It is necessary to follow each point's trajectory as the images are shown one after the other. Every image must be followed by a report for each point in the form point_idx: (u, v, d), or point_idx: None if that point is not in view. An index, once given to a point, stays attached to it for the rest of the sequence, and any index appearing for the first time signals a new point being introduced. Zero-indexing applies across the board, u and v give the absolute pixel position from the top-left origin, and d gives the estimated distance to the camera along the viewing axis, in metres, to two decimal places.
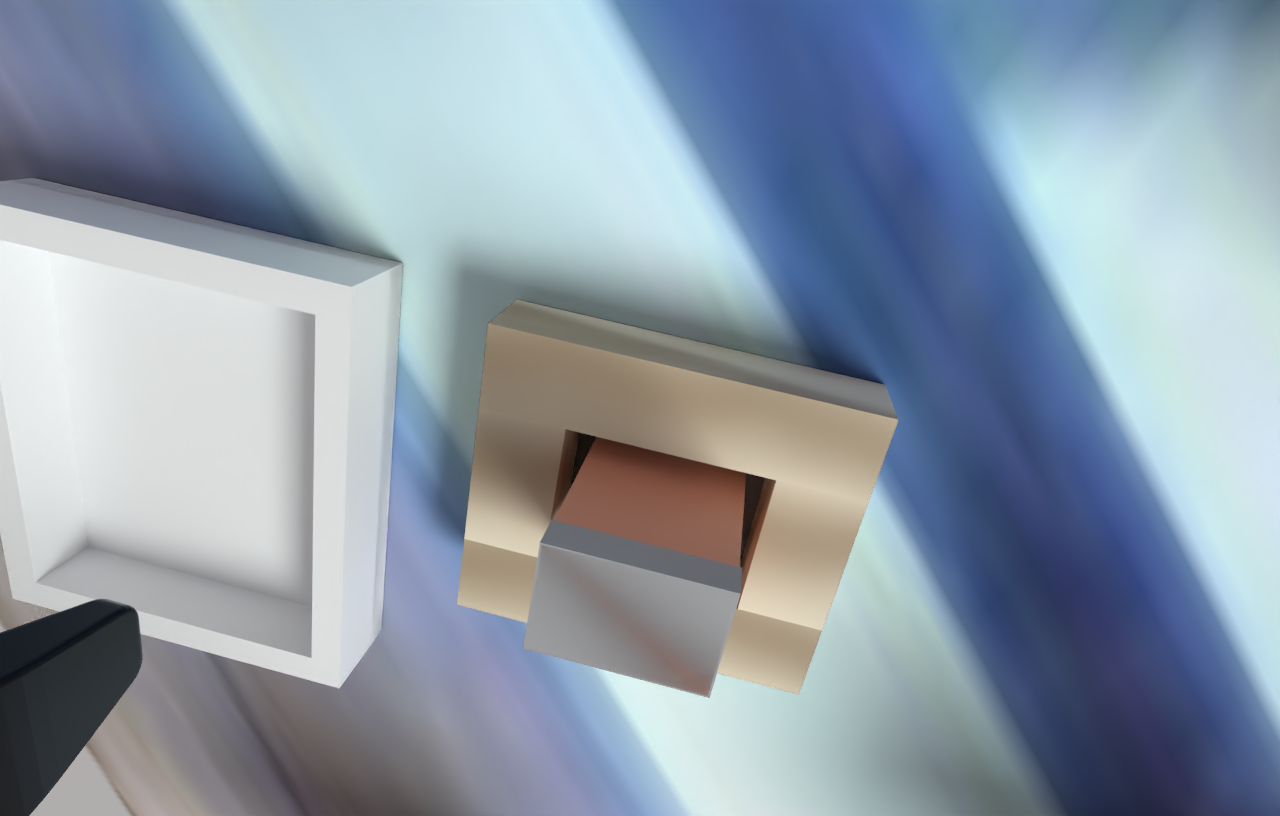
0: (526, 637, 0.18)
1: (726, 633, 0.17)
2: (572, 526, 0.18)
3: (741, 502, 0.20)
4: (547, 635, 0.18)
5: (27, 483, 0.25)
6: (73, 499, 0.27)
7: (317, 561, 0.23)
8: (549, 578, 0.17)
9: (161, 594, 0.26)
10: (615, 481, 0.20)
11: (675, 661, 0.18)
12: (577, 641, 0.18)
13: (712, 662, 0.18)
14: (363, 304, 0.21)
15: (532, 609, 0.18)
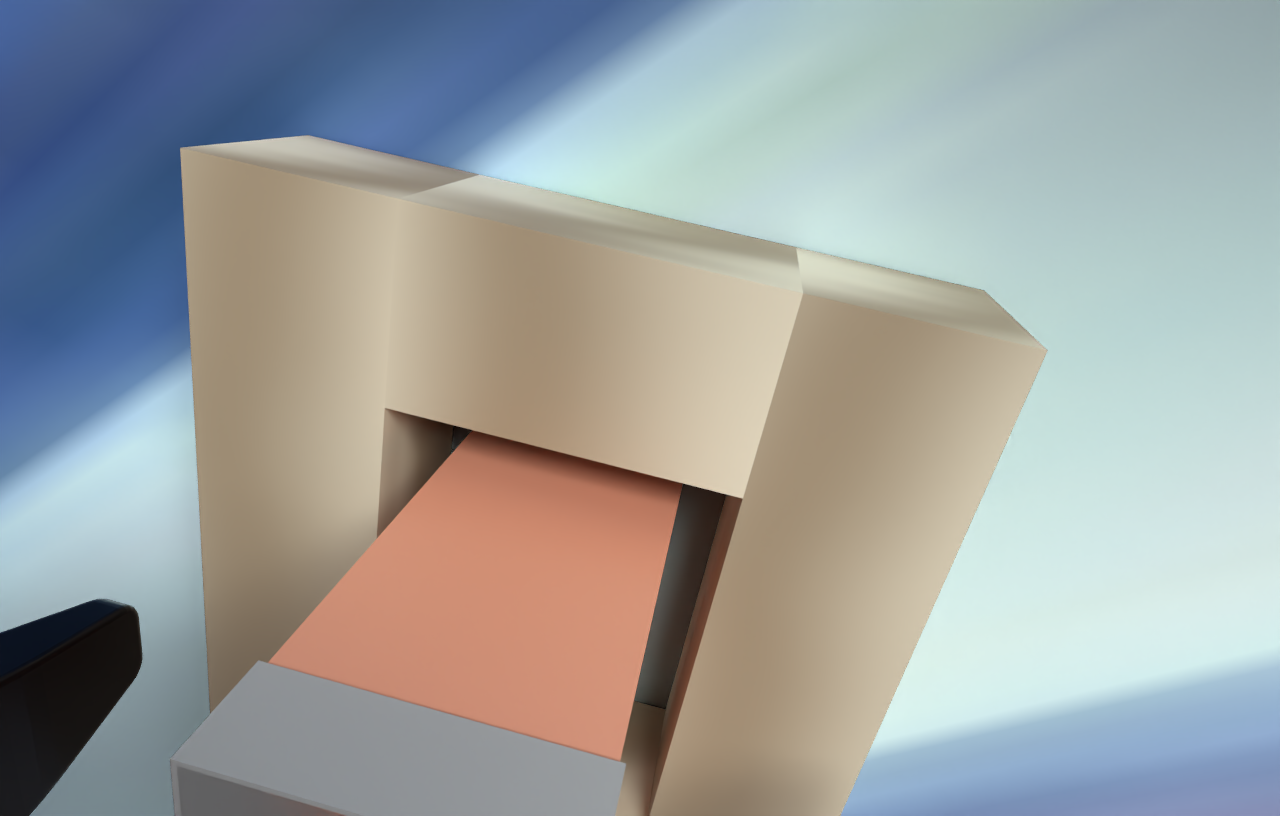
0: None
1: (328, 806, 0.05)
2: None
3: (421, 492, 0.09)
4: None
5: None
6: None
7: None
8: None
9: None
10: None
11: None
12: None
13: None
14: None
15: None
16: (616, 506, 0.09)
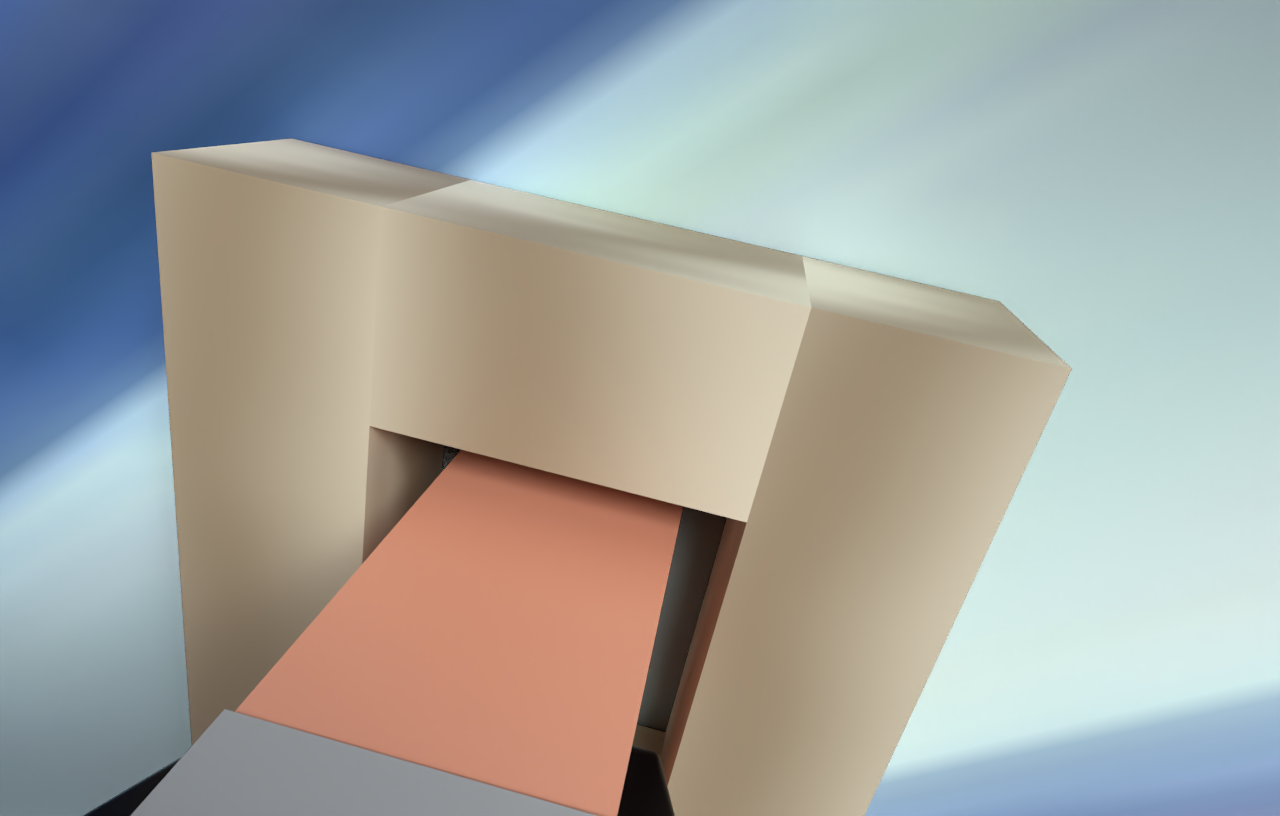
0: None
1: None
2: None
3: (408, 515, 0.09)
4: None
5: None
6: None
7: None
8: None
9: None
10: None
11: None
12: None
13: None
14: None
15: None
16: (613, 529, 0.09)
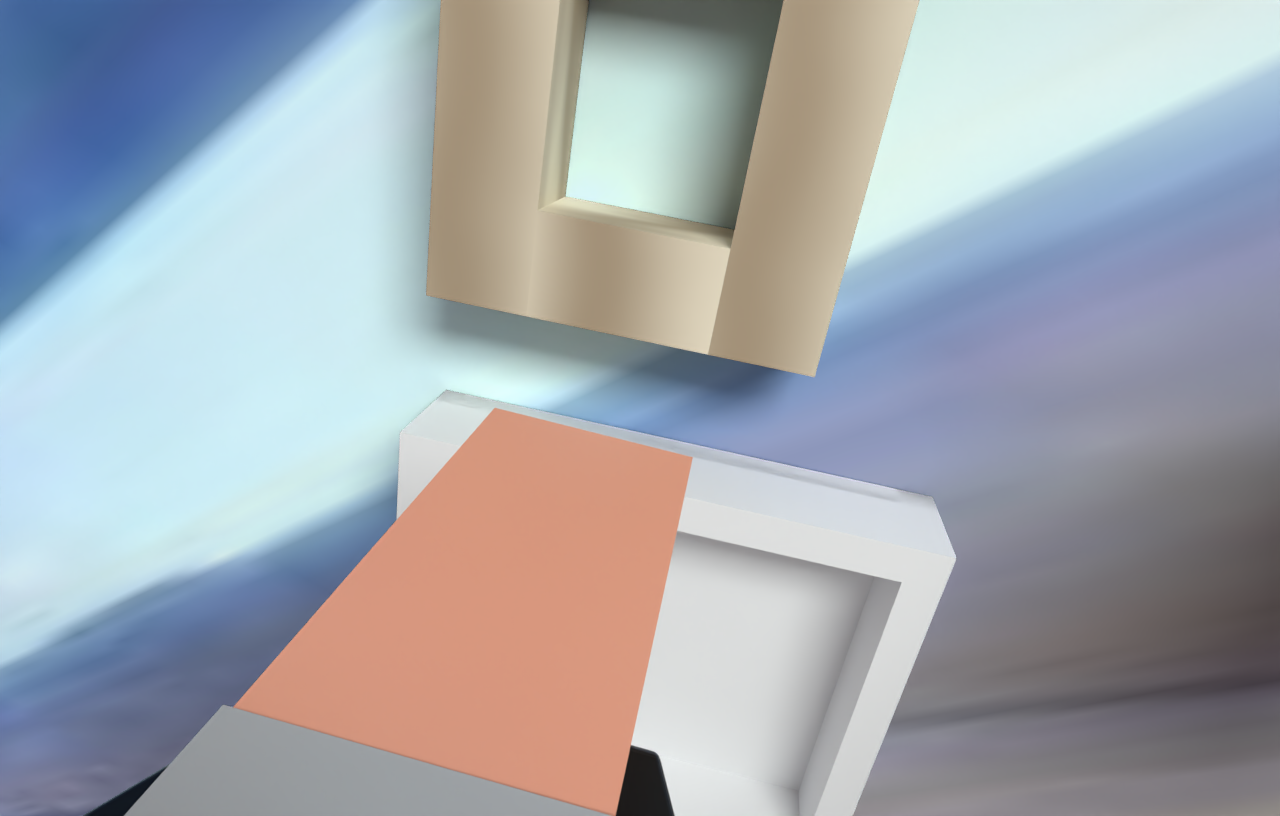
0: None
1: None
2: None
3: (407, 512, 0.09)
4: None
5: (678, 810, 0.23)
6: (729, 781, 0.25)
7: (743, 540, 0.19)
8: None
9: (833, 734, 0.22)
10: None
11: None
12: None
13: None
14: (435, 427, 0.20)
15: None
16: (613, 527, 0.09)
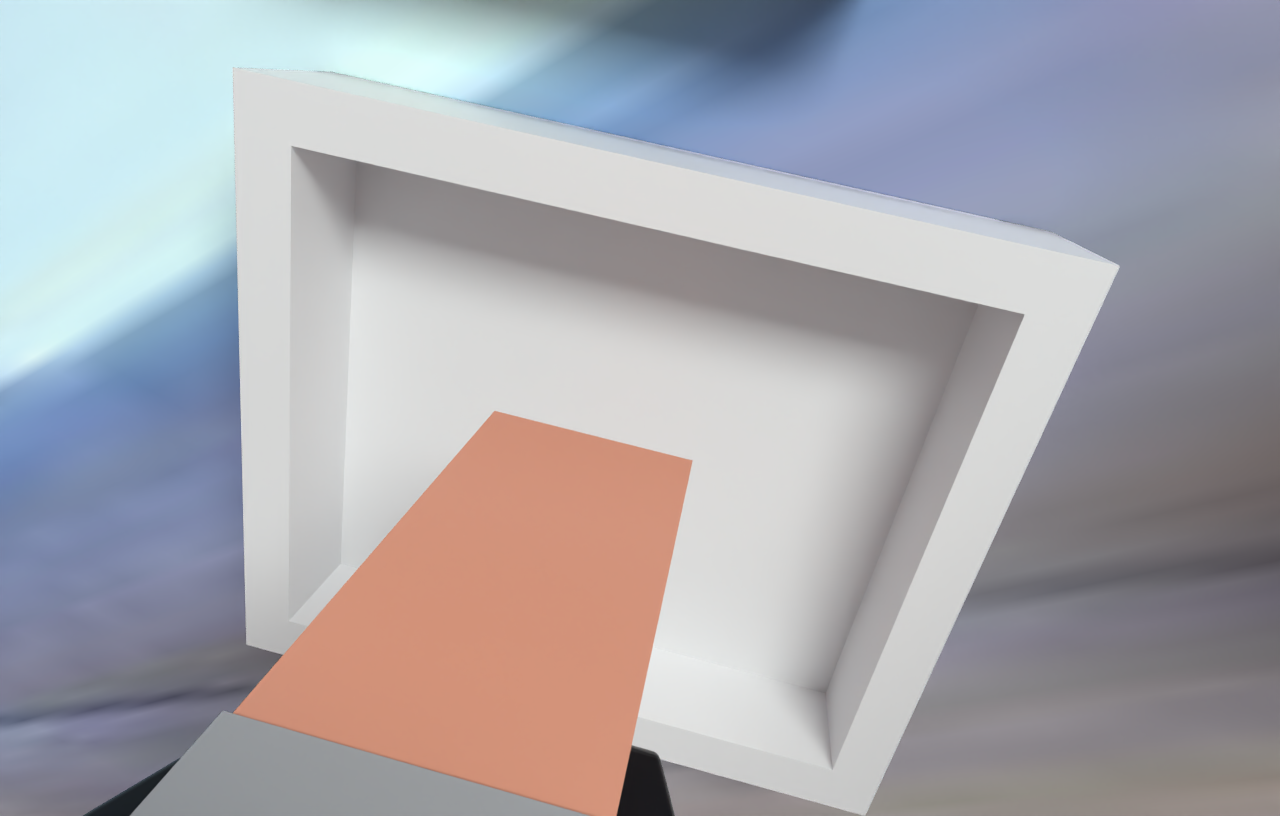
0: None
1: None
2: None
3: (407, 516, 0.09)
4: None
5: (657, 710, 0.16)
6: (730, 677, 0.18)
7: (774, 245, 0.12)
8: None
9: (887, 593, 0.15)
10: None
11: None
12: None
13: None
14: (294, 76, 0.13)
15: None
16: (613, 530, 0.09)
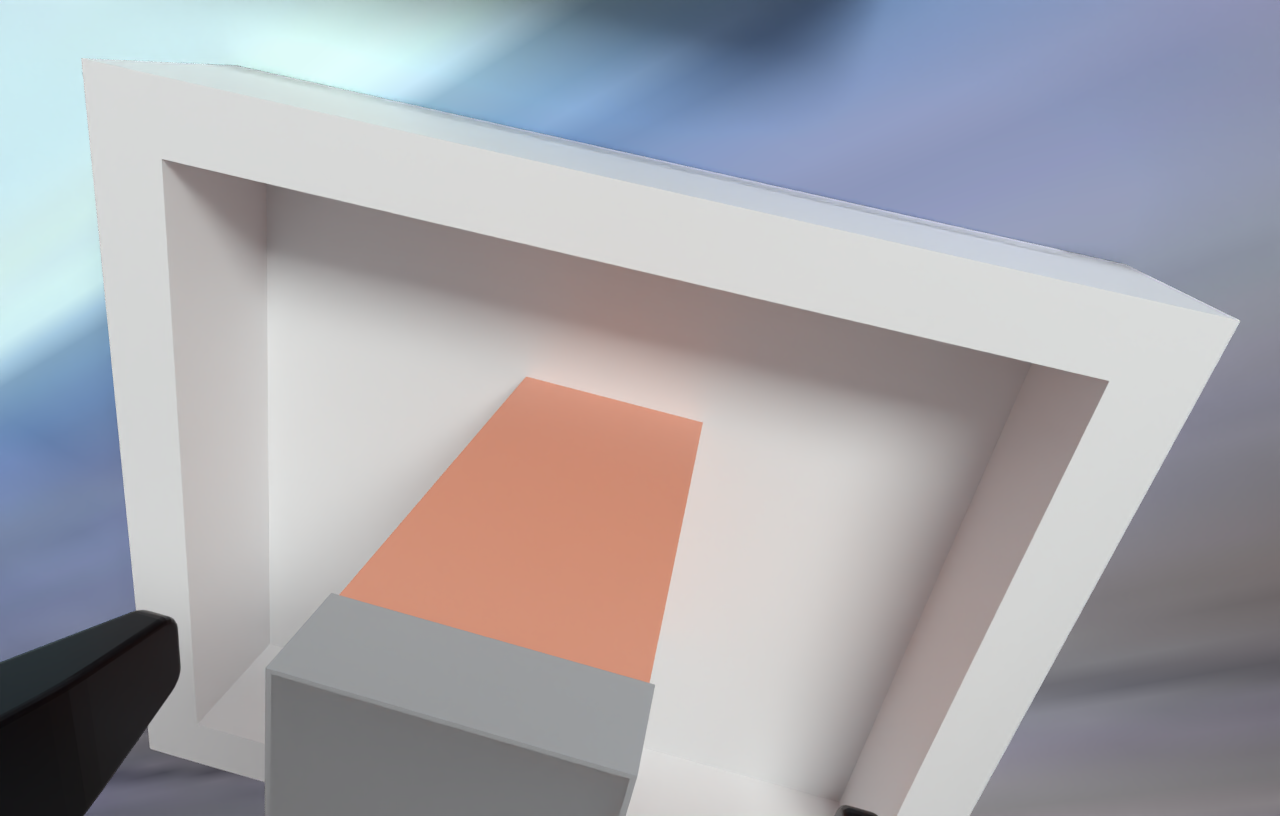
0: None
1: (402, 709, 0.06)
2: None
3: (459, 458, 0.10)
4: None
5: None
6: (726, 784, 0.15)
7: (781, 289, 0.09)
8: None
9: (918, 704, 0.12)
10: None
11: None
12: None
13: (505, 754, 0.06)
14: (169, 70, 0.10)
15: None
16: (635, 475, 0.10)
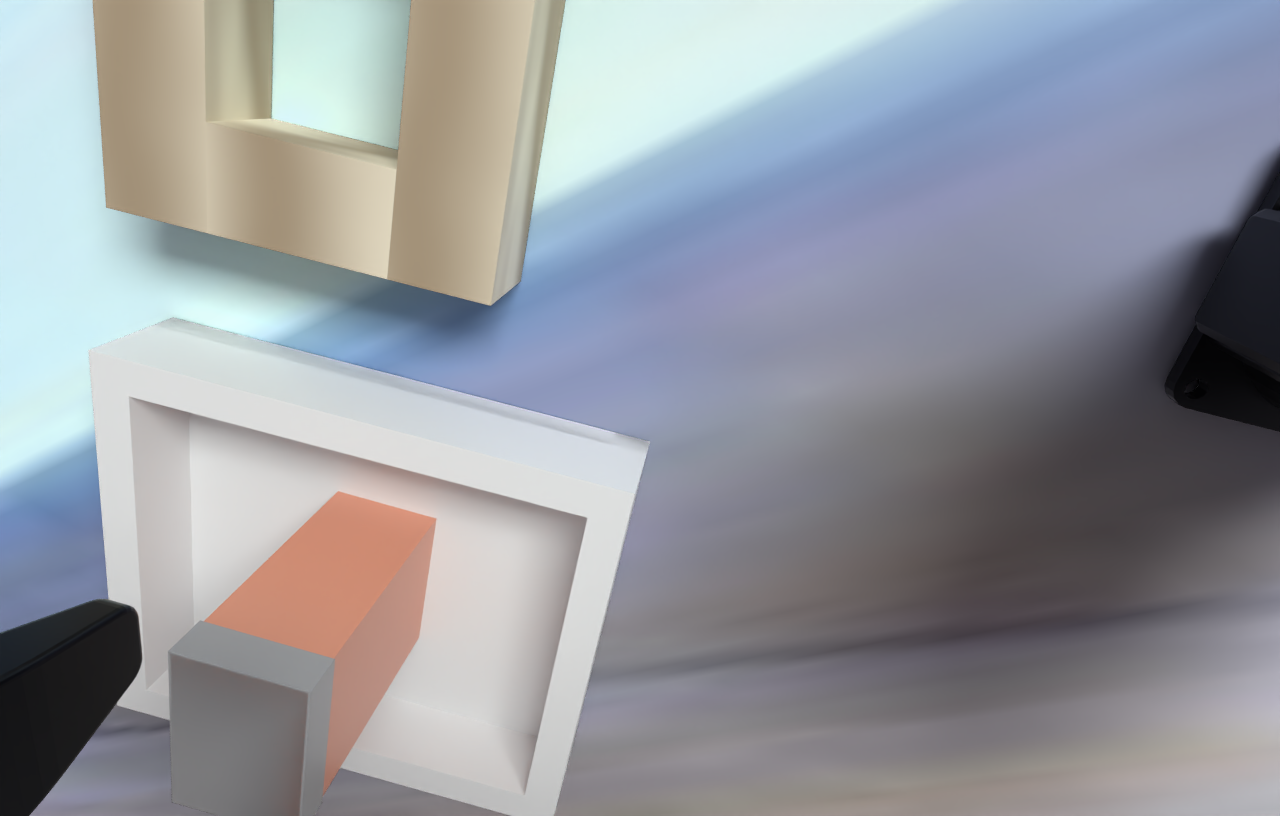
0: None
1: (221, 667, 0.16)
2: None
3: (281, 548, 0.19)
4: None
5: (408, 753, 0.23)
6: (473, 727, 0.25)
7: (434, 471, 0.19)
8: (208, 802, 0.17)
9: None
10: None
11: (271, 716, 0.16)
12: (276, 794, 0.17)
13: (261, 684, 0.16)
14: (133, 348, 0.19)
15: None
16: (376, 555, 0.20)
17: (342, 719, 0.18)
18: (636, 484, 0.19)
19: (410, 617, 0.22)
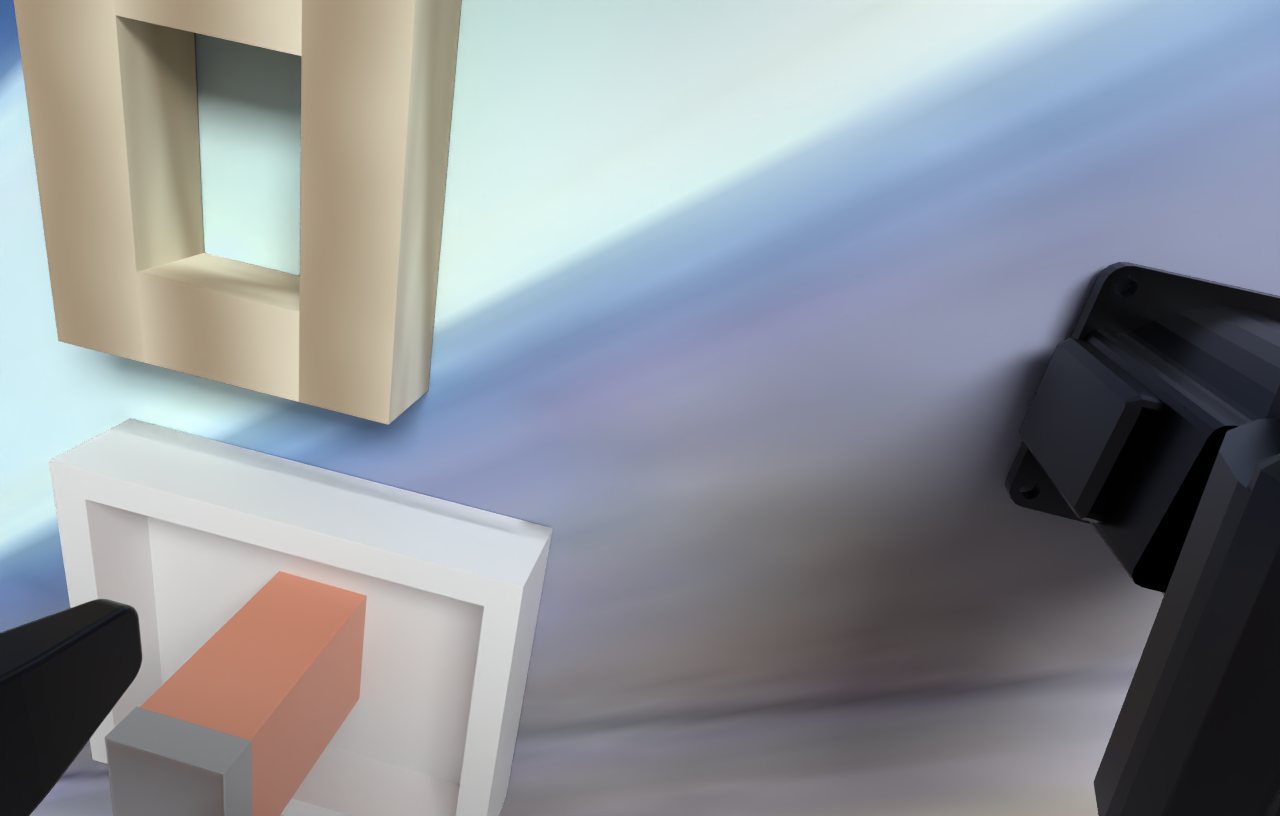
0: None
1: (150, 751, 0.18)
2: None
3: (219, 631, 0.22)
4: None
5: (349, 804, 0.26)
6: (411, 779, 0.27)
7: (349, 565, 0.21)
8: None
9: None
10: None
11: (195, 792, 0.18)
12: None
13: (184, 766, 0.18)
14: (89, 455, 0.22)
15: None
16: (305, 635, 0.22)
17: (269, 787, 0.21)
18: (527, 576, 0.21)
19: (345, 684, 0.24)
